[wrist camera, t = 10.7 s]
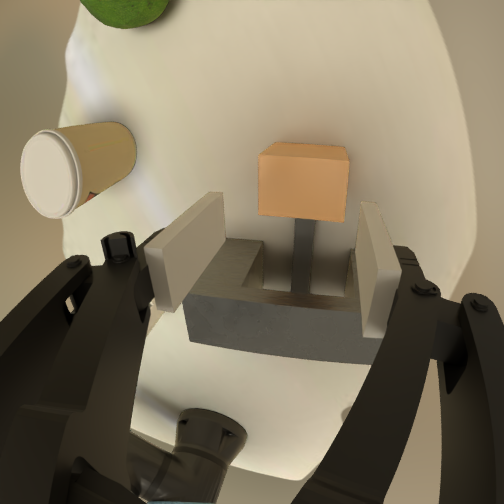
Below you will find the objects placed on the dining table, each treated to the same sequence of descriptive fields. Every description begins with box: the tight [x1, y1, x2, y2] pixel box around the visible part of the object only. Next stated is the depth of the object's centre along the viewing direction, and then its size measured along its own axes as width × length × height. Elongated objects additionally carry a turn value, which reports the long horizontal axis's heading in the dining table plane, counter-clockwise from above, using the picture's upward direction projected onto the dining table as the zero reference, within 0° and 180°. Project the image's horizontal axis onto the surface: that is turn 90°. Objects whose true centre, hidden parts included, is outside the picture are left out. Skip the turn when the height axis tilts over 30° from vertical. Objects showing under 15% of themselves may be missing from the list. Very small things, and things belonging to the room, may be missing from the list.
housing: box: [182, 238, 387, 365], centre depth 31 cm, size 6×20×12 cm, turn 91°
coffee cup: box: [20, 122, 136, 218], centre depth 30 cm, size 9×9×12 cm
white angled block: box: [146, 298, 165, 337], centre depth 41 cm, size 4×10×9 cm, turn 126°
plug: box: [258, 142, 349, 294], centre depth 31 cm, size 22×7×8 cm, turn 0°
